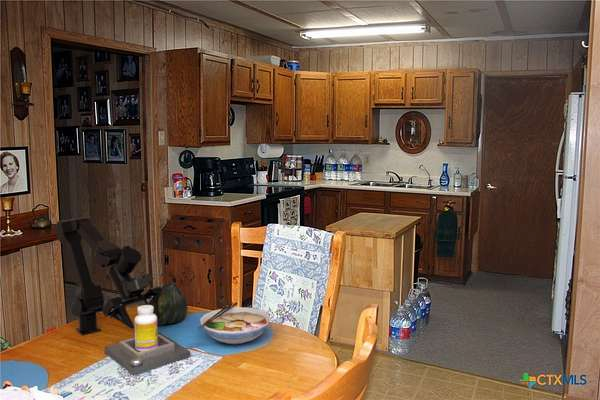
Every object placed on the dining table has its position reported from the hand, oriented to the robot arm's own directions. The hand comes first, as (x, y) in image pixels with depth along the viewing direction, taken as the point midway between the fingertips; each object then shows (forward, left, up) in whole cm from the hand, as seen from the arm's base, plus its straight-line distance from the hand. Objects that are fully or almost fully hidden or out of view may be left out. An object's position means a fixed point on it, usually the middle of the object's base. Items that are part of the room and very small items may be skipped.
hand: (146, 324), depth 160 cm
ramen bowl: (+8, +27, -10) cm, 30 cm away
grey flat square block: (0, 0, -10) cm, 10 cm away
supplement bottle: (0, 0, -8) cm, 8 cm away
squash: (-22, +18, -10) cm, 30 cm away
